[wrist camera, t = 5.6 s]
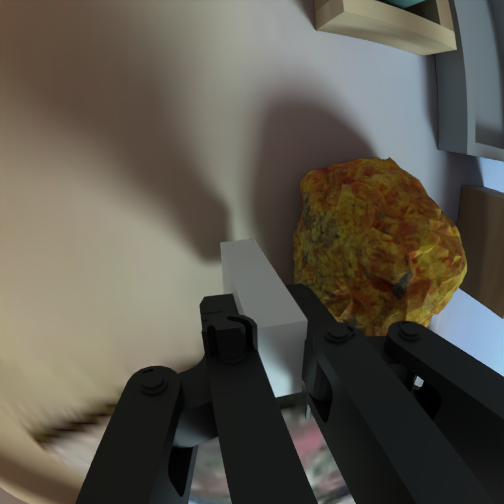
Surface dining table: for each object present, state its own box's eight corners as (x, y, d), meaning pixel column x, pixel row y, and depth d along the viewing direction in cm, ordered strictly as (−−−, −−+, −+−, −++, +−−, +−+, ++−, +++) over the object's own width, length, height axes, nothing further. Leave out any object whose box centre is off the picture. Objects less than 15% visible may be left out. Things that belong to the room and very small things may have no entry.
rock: (379, 217, 21) (434, 345, 17) (273, 257, 22) (320, 394, 18) (411, 107, 11) (530, 326, 7) (227, 167, 12) (317, 438, 8)
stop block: (446, 279, 19) (502, 318, 14) (461, 185, 17) (531, 209, 11) (469, 273, 20) (522, 308, 14) (484, 186, 17) (547, 208, 12)
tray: (437, 149, 15) (466, 154, 13) (409, -63, 9) (430, -75, 7) (503, 161, 17) (527, 167, 15) (483, -19, 11) (503, -24, 9)
